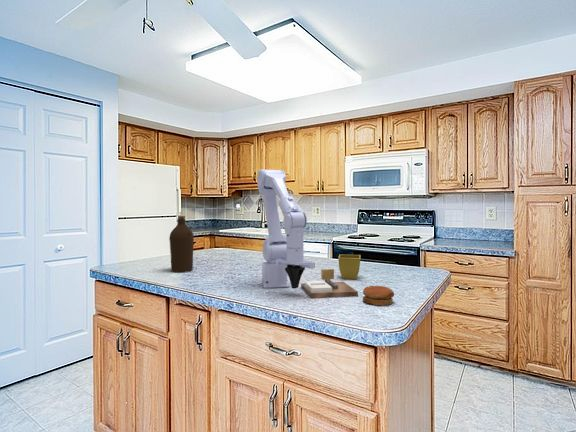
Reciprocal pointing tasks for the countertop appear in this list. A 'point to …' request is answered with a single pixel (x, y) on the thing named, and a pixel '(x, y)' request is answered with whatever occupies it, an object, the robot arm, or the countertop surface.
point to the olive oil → (181, 247)
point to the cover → (318, 286)
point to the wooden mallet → (328, 277)
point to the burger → (378, 295)
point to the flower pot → (349, 266)
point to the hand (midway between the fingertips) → (295, 287)
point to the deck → (333, 291)
